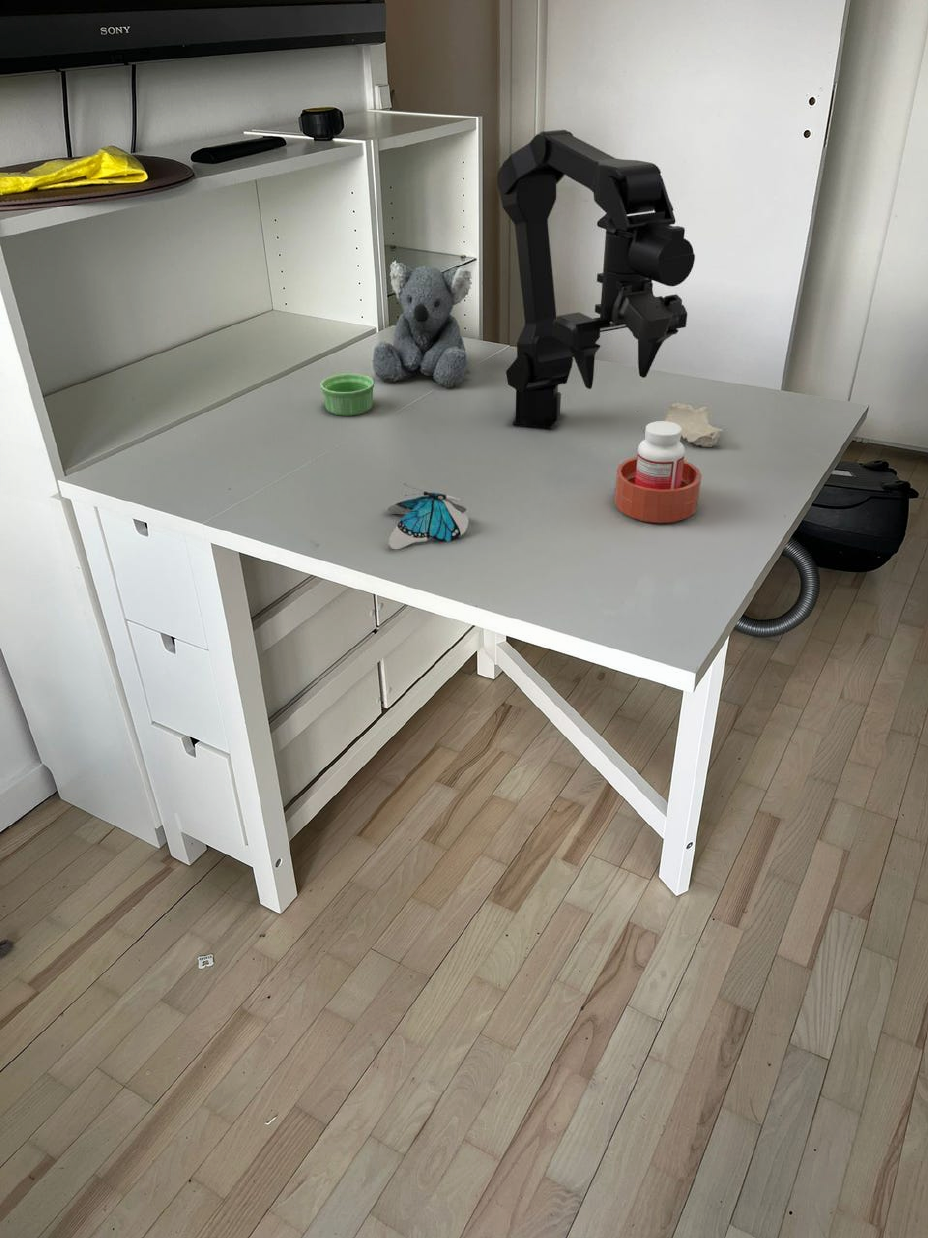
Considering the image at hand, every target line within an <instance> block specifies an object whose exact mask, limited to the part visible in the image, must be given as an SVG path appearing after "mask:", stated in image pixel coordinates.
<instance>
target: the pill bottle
mask: <svg viewBox="0 0 928 1238" xmlns="http://www.w3.org/2000/svg"><path fill="white" fill-rule="evenodd" d="M644 432H645V433H644V434H645V435H644V438H645V439H643V440H642V441H640V443H639V444H638V448H637V454H636V457H637V465H636V475H635V484H636V485H638V486H642V487H646V488H651V489H659V490H664V489H677V488H680V487H681V479H682V470H683V462H684V461H685V453H686V452H685V447H684V444H683V443H682V442H680V441H681V439H682V436H681V432H682V429H681V427H680V426H679V425H678V424H676V423H673V422H668V421H664V420H657V421H653V422H650V423H648V424H647V425H646V426H645V431H644Z"/></svg>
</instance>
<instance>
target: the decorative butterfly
mask: <svg viewBox="0 0 928 1238" xmlns="http://www.w3.org/2000/svg"><path fill="white" fill-rule="evenodd" d="M403 485H404V486H407V487H408V488H410V486H409V485H407V484H406V483H403ZM412 489H414V490H417V491H418V489H417V488H415V487H412ZM419 491H421V492H422V493H419V495H423V496H419V497H415V498H412V499H405V500H403V501H399V502H397V503H395V504H392V505H390V506H389V507H388V508H387V511H388V512H389V513H391V514H405V515H404V516H403V517H402V518H401V519H400V520H399V522H398V523H397V525H396V526H395V527H394V529H393V530H392V532H391V534H390V536H389V539H388V546H389V547H390V549H392V550H400V549H403V548H405V547H407V546H409V545H411V544H413V543H421V542H428V541H429V540H430V539H431V538H432V539H433V540H434V541H437V542H440V543H441V542H452V541H455V540H458V539H459V538H460V537H462V535H463V534H464V533H465V532H466V531H467V528H468V526H469V517H468V516H467V514H465V512H466V511H467V508H466V507H465V506H463V505H460V504H458V503H454V502H453V501H455V502H456V501H458V502H459V501H461V502H462V501H463V499H461V498H458V497H455V496H452V495H447V494H443V493H438V492H428V491H425V490H424V491H423V490H420V489H419ZM414 495H415V493H413V494H412V496H414ZM404 496H405V497H406V496H408V494H405V495H404Z"/></svg>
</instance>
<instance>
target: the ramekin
mask: <svg viewBox="0 0 928 1238" xmlns="http://www.w3.org/2000/svg"><path fill="white" fill-rule="evenodd" d="M374 387H375V381H374V379H373V378H372V377H370V376H368V375H364V374H360V373H341V374H335V375H331V376H328V377H326V378H325V379H323V380H322V381H321V382H320V389H321V391H322V396H323V401H324V407H325V409H326V410H327V412H329V413H331V414H333V415H336V416H342V417H343V416H344V417H345V416H346V417H348V416H351V417H352V416H358V415H361V414H362V415H363V414H364V413H367V412H369V411H370V410H371V409H372V408H373V405H374Z"/></svg>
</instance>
